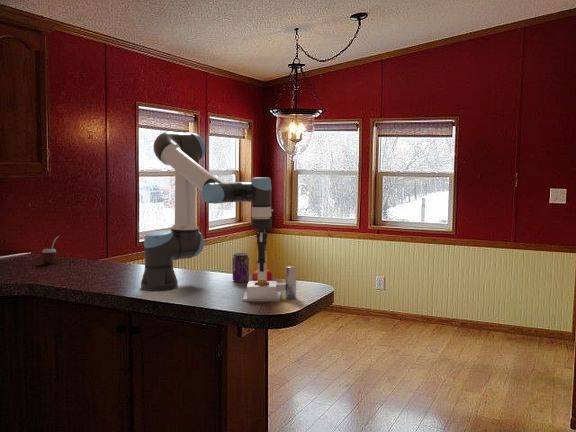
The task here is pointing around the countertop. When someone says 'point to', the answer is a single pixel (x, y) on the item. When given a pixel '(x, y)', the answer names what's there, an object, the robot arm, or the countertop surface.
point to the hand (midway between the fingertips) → (262, 278)
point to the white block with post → (272, 288)
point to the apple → (255, 275)
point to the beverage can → (240, 267)
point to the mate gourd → (49, 255)
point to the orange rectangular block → (264, 282)
